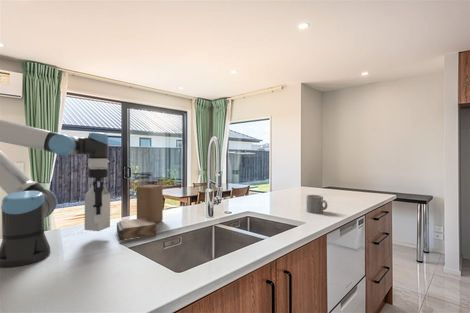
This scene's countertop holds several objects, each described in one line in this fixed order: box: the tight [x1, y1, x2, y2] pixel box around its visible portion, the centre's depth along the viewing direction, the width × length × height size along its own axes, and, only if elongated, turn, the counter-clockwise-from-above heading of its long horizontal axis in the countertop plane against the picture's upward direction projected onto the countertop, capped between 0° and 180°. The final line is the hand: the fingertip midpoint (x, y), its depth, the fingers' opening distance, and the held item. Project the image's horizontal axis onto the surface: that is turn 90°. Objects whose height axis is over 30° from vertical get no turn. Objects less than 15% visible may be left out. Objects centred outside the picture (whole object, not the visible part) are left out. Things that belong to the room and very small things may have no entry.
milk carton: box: [84, 184, 111, 232], centre depth 113 cm, size 7×7×19 cm
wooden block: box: [136, 184, 164, 224], centre depth 139 cm, size 10×10×20 cm
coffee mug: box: [306, 194, 328, 214], centre depth 163 cm, size 13×10×10 cm
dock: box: [116, 217, 157, 241], centre depth 121 cm, size 15×14×5 cm
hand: (97, 219), depth 113 cm, fingers closed on milk carton, 10 cm apart
